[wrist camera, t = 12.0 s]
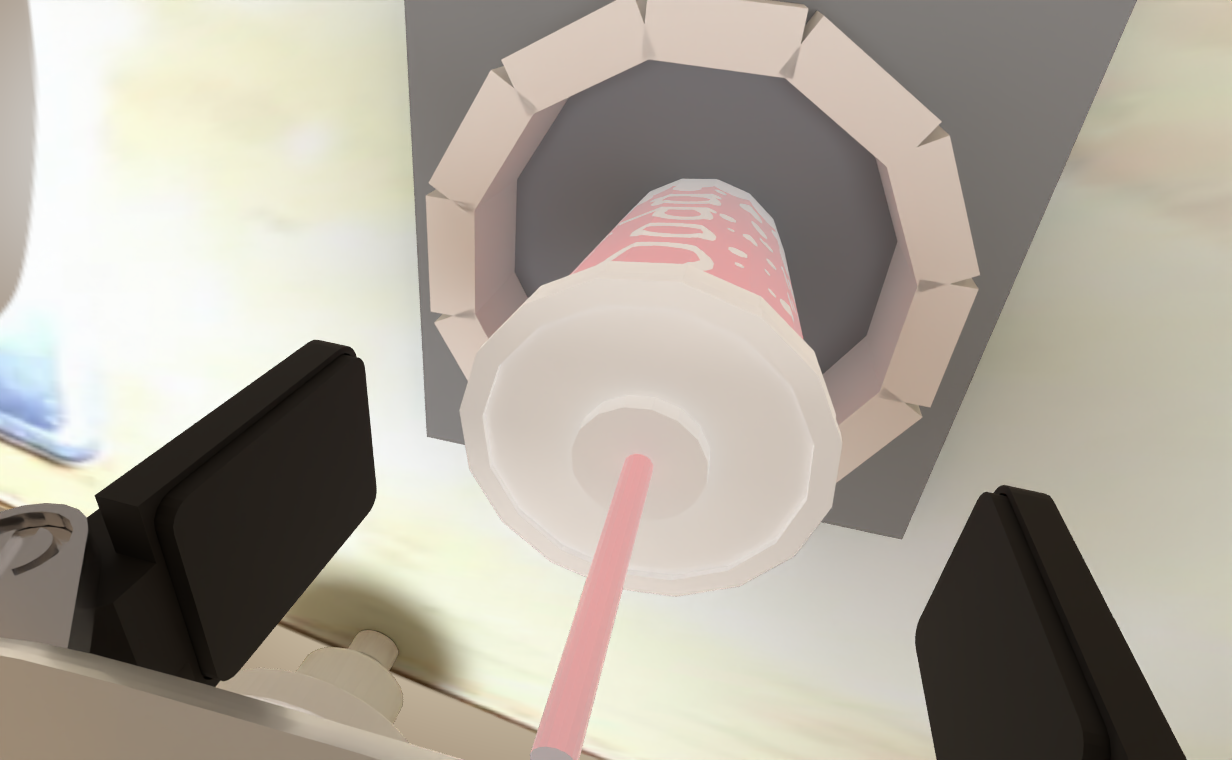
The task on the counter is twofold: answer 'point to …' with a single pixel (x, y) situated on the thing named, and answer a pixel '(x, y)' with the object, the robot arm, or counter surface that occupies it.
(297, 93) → the counter surface
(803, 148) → the ring holder
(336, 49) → the counter surface
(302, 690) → the showerhead
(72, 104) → the counter surface
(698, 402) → the beverage cup
